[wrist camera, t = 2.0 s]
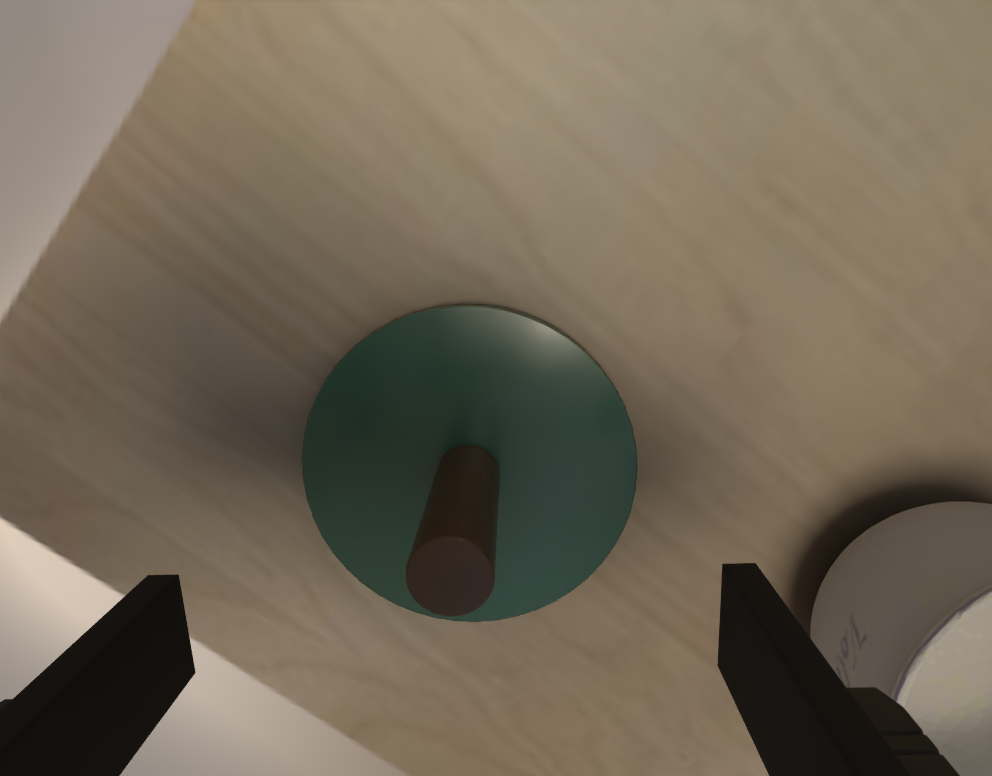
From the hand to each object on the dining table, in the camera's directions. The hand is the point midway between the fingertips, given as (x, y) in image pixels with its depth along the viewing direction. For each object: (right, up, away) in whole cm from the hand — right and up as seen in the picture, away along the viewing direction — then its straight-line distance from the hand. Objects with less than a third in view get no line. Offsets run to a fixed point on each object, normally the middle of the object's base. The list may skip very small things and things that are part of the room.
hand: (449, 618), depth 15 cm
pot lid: (0, +2, +9) cm, 10 cm away
